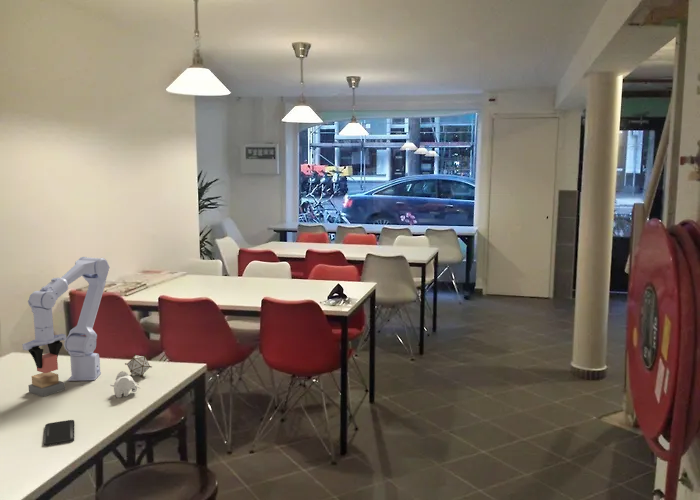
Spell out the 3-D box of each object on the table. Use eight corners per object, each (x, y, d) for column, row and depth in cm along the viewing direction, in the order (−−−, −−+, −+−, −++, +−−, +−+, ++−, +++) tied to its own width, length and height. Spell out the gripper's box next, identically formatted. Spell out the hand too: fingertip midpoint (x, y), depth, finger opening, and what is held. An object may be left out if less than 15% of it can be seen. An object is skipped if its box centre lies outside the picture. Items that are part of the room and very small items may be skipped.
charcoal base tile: (50, 386, 219) (50, 378, 219) (64, 390, 215) (64, 382, 215) (29, 393, 213) (28, 385, 212) (43, 398, 208) (42, 389, 208)
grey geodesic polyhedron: (144, 384, 231) (160, 362, 231) (130, 383, 223) (147, 361, 223) (130, 369, 234) (146, 348, 234) (115, 368, 226) (131, 346, 226)
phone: (74, 419, 188) (74, 439, 174) (74, 422, 188) (74, 442, 174) (45, 423, 185) (42, 444, 171) (45, 427, 185) (43, 448, 171)
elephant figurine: (141, 396, 209) (140, 375, 208) (110, 400, 205) (109, 379, 204) (139, 388, 216) (138, 368, 215) (109, 392, 212) (108, 372, 211)
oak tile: (48, 379, 218) (48, 371, 217) (58, 382, 214) (58, 374, 214) (32, 384, 213) (31, 376, 212) (42, 388, 209) (41, 379, 209)
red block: (49, 367, 214) (48, 353, 214) (58, 369, 212) (57, 355, 211) (37, 370, 210) (36, 356, 210) (45, 373, 208) (44, 358, 207)
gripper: (30, 333, 201) (33, 373, 203) (70, 323, 213) (73, 361, 215) (17, 330, 205) (20, 370, 207) (57, 320, 217) (60, 358, 219)
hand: (46, 365), depth 211 cm, fingers closed on red block, 5 cm apart
